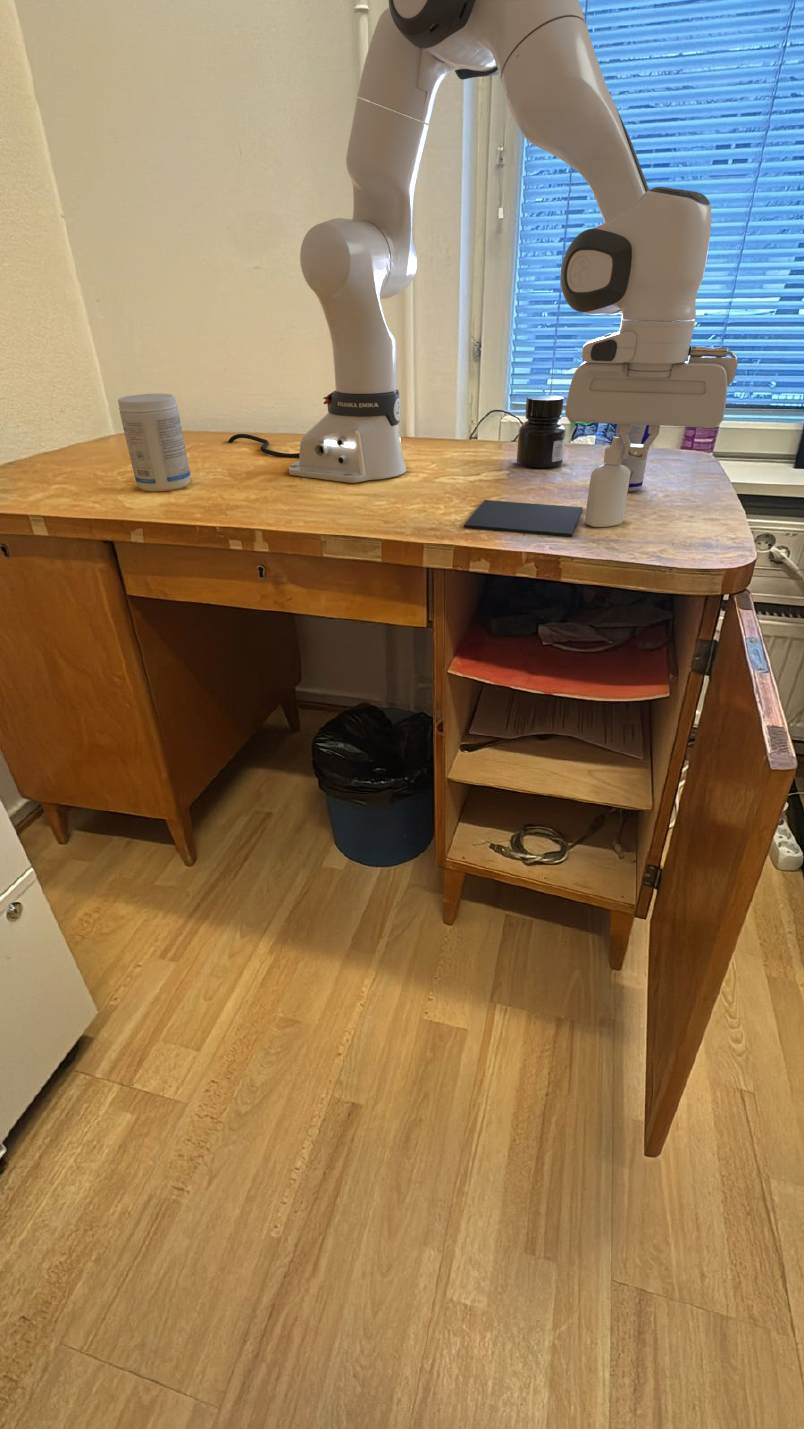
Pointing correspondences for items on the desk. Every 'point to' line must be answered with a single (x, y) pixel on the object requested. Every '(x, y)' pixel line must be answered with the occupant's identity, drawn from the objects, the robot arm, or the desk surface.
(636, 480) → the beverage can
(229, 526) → the desk surface
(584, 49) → the robot arm
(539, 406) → the ink bottle
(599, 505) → the eye dropper bottle
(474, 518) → the mat
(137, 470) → the supplement tub
